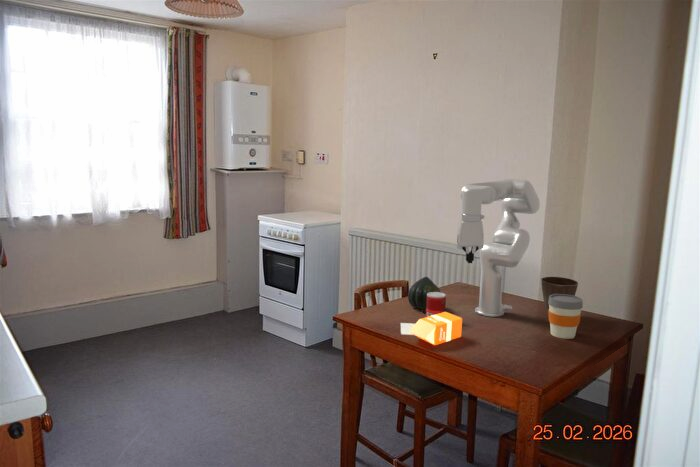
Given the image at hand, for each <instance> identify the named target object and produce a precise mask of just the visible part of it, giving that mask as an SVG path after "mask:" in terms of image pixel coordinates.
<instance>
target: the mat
mask: <svg viewBox="0 0 700 467" xmlns="http://www.w3.org/2000/svg"><path fill="white" fill-rule="evenodd" d="M415 324H416V323H411V322H408V323H407V322H400V335H401V336H415V335H414V334H412V333H410V332H409V331H410V329H411V328H412V327H413V326H414V325H415Z"/></svg>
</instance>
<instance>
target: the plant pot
mask: <svg viewBox="0 0 700 467" xmlns="http://www.w3.org/2000/svg"><path fill="white" fill-rule="evenodd" d="M578 285H579V281H577V280H575V279H571V278H566V277H560V276H544V277H542V278H541V294H542V298H543V303H544V308H545V311H546V314H547V316H548V317H549V314H548V310H549V304H548V301H549V296H550V295H552V294H567V295H573V296H576V293H577V290H578Z"/></svg>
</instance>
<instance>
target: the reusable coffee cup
mask: <svg viewBox="0 0 700 467" xmlns="http://www.w3.org/2000/svg"><path fill="white" fill-rule="evenodd" d="M548 304H549V310H548V314H549V316H548V322H549V326H550V334H551V336H553V337H556V338H559V339H565V340H567V339H568V340H569V339H574V338H575V336H576V333H577V330H578V327H579V325H580V323H581V317H582V309H583V307H584V306H583V304H584V302H583V298H581V297H579V296H577V295H575V296H573V295H567V294H552V295H550V296H549V301H548Z"/></svg>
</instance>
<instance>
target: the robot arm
mask: <svg viewBox="0 0 700 467" xmlns="http://www.w3.org/2000/svg"><path fill="white" fill-rule="evenodd" d="M459 195H460V199H461V220H459V222H458V228H457V233H456V234H457V235H456V243H457V245H456V248H457V249H459V250H462V251H464V252H465V261H466V263H467V264H473V262H474V261H475V254H476V252H477V251H478V250H479V260H480V261H479V262H480V277H479V278H480V281H479V282H480V283H479V284H480V285H479V297H478V298H479V299H478V306H477V307H475V308H474V311H475V314H478V315H480V316H485V317H493V318H495V317H502V316H504V315H505V311H506V310H507V311H513V306H512V305H508V304H503V303H502V296H503V282H504V279H503V278H504V274H503V271H502V269H501V267H505V268H516V267H518V265H519V264H520V262H521V260H522V259H523V257H524V255H525V253H526V251H527V250H528V247H529V244H530V240H531V239H530V233H529V232H528V231H527V230H526V229H523V228H520V226H521V224H520V220H519V219H518V217H517V215H516V213H517V214H524V215H525V214H527V215H534V214H536V213H537V212H538V211H539V209H540V199H539V196H538V194H537V192H536V190H535V188H534V186H533V184H532V183H531V181H529V180H527V179H515V178H507V179H501V180H496V181H487V182H486V181H485V182H475V183H468V184H466V185H464V186H463V187H462V188H461V190H460V194H459ZM498 201H500V202H501V203H500V205H501V206H500V208H501V221H500V223H499V224H498V226H497V228H496V229H495V231H494V233H493V234H492V237H491V242H486V243H484V242H485V240H484V239H485V238H484V234H485V233H484V225H483V219H485V215H483V214H482V205H491V204H492V203H494V202H498ZM470 247H471V249H470Z"/></svg>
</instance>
